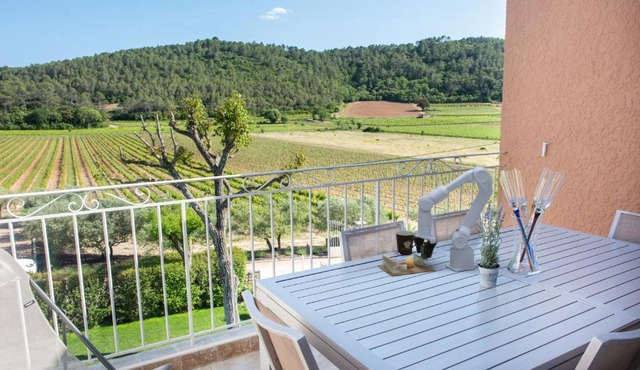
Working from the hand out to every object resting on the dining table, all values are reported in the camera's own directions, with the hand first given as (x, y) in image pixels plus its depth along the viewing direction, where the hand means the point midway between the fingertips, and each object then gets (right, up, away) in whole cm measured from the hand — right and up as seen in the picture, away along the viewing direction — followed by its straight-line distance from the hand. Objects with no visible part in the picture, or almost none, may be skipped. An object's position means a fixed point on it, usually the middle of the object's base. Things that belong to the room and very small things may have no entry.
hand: (424, 255), depth 206 cm
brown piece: (-8, -5, -2) cm, 10 cm away
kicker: (-1, -4, 0) cm, 4 cm away
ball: (-7, -3, -2) cm, 7 cm away
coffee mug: (-3, -2, +19) cm, 20 cm away
